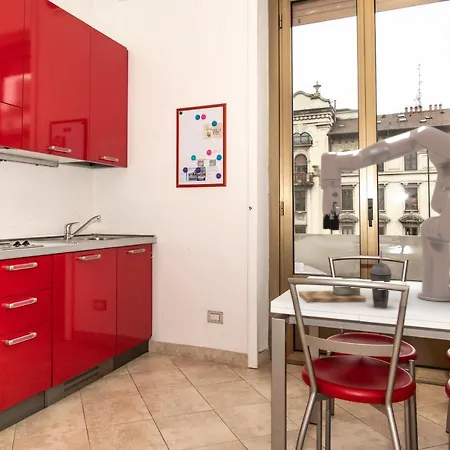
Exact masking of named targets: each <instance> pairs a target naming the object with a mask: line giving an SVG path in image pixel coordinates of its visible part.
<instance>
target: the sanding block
mask: <svg viewBox="0 0 450 450" xmlns="http://www.w3.org/2000/svg"><path fill="white" fill-rule="evenodd" d="M341 278H342V279H358V278H357V277H341ZM332 291H333V294H335V295H337V296H354V295H361V287H360V288H351V287H335V286H333V285H332Z"/></svg>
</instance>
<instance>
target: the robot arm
mask: <svg viewBox="0 0 450 450" xmlns="http://www.w3.org/2000/svg"><path fill="white" fill-rule="evenodd" d="M424 150H427V151H428V153H427V157H428V159H429V162H431V163H432V165H433V166H434V168H435V170H436V182H435V186H434V189H433V194H432V196H431V200H430V207H431V210H433V212H435V213H438V214H440V215H439V216H430V217H427V218H425V220H423V222H422V223H421V225H420V238H421V246H422V247H421V248H422V249H421V252H422V253H421V254H422V262H421V263H422V264H421V269H422V270H421V292H418V293H417V298H419V299H421V300H424V301H430V302H431V301H432V302H450V245H449V244H450V134H449V133H447V132H445V131H443V130H440V129H438V128H436V127H433V126H430V125H422V126H419V127H417V128H414V129H411V130H409V131H405V132H402V133H400V134H399V133H398V134H396V135H394V136H390V137H388V138H384V139H381V140H379V141H377V142H374V143H373V144H370V145H368V146H365V147H363V148H360V149H357V150H350V151H344V152H343V151H342V152H339V151H328V152H327V151H326V152H323V153H322V154H321V157H320V165H321V166H320V189H321V190H322V202H321V203H322V208H321V210H322V229H323V230H330V231H339V230H340V215H341V214H342V212H343V211H342V210H343V209H342V193H341V192H342V191H341V189H342V174H343V173H344V174H349V173H352V172H356V171H358V170H361V169H364V168H367V167H370V166H374V165H378V164H384V163H387V162H390V161H393V160H396V159H399V158H402V157H405V156H409V155H411V154H415V153H418V152H421V151H424Z"/></svg>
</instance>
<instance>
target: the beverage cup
mask: <svg viewBox="0 0 450 450" xmlns="http://www.w3.org/2000/svg"><path fill="white" fill-rule="evenodd" d="M379 255H380V257H379V258H380V259H379V260H380V262H376V263H375V264H374V265H373V266H372V267H371V268H370V272H369V275H370V280H371V282H372V281H384V282H390V283H391V280H392V271H391V270H392V269H391V268H390V266H389V265H387V264H386V263H384V262H383V251H382V250H380V254H379ZM371 291H372V303H373V307H374V308H376V309H377V308H378V309H387V308H388V302H389V294H390V290H389V291H388V290H378V289H372V288H371Z"/></svg>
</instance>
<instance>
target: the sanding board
mask: <svg viewBox="0 0 450 450" xmlns="http://www.w3.org/2000/svg"><path fill="white" fill-rule="evenodd" d="M298 296H299V297H301V299H303V300H304V301H305V303H307V304H311V303H310V302H321V303H363V302H364V303H366V297H365V296H364V295H361V294H360V295H354V296H337V295H335V294H333V290H319V291H318V290H315V291H309V290H308V291H307V290H306V291H305V290H304V291H301V290H299V291H298Z"/></svg>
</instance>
